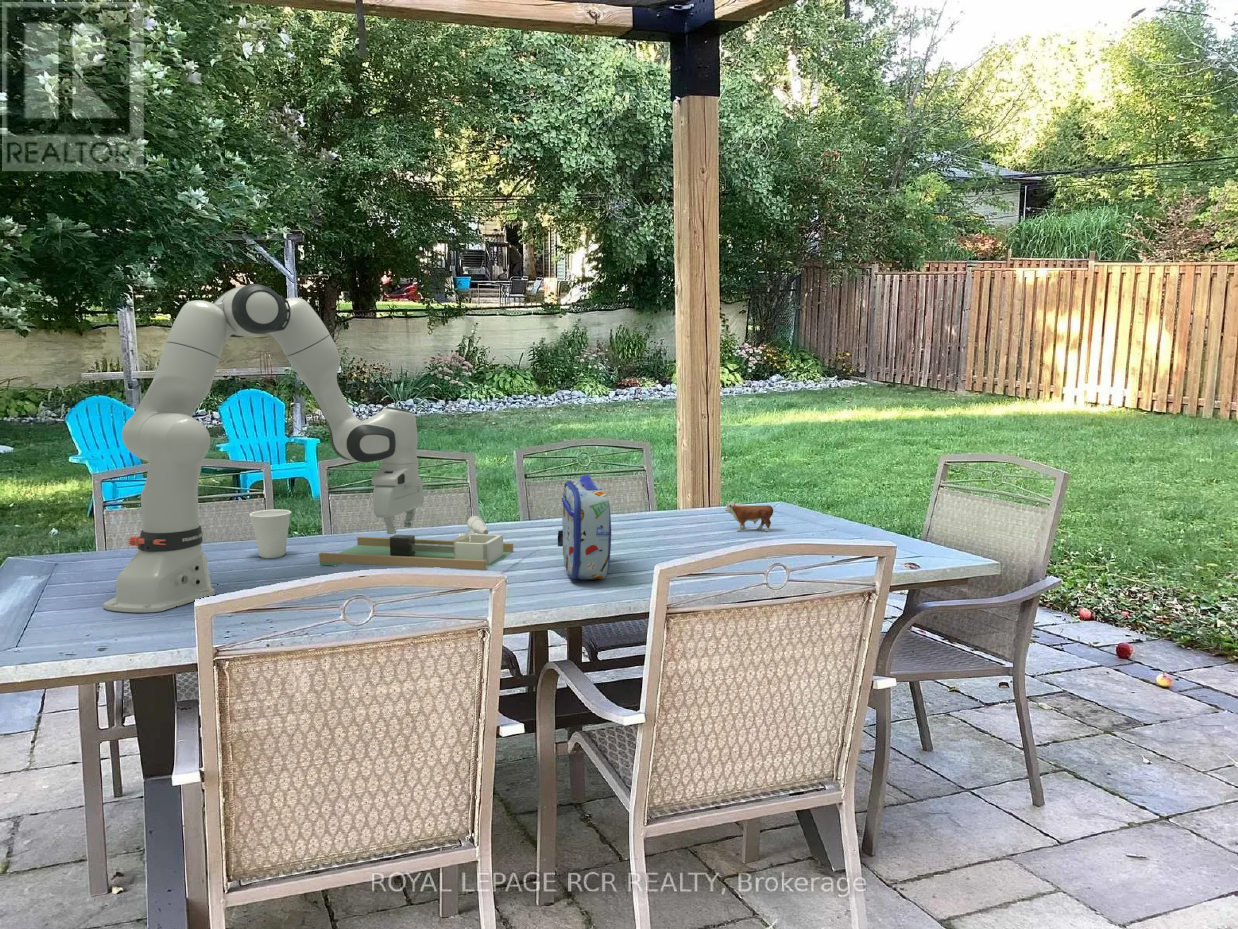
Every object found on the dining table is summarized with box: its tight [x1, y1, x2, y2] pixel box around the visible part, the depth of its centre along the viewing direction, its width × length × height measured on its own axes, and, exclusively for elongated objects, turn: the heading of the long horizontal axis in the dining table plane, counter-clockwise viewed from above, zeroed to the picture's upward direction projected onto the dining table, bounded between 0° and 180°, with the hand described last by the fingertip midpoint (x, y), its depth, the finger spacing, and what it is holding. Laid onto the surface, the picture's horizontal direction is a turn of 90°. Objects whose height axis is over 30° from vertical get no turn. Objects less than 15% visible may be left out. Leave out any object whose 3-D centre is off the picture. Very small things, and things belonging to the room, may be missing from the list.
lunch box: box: [557, 474, 612, 580], centre depth 231 cm, size 28×10×22 cm, turn 9°
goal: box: [455, 533, 504, 565], centre depth 242 cm, size 11×8×5 cm
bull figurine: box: [724, 501, 774, 533], centre depth 279 cm, size 4×13×8 cm, turn 82°
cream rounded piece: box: [457, 515, 490, 542], centre depth 264 cm, size 8×14×5 cm
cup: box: [248, 508, 292, 559], centre depth 251 cm, size 10×10×11 cm
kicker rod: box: [389, 534, 470, 559], centre depth 245 cm, size 5×19×5 cm, turn 77°
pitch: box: [318, 536, 514, 571], centre depth 245 cm, size 20×42×3 cm, turn 77°
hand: (400, 530), depth 245 cm, fingers open, 8 cm apart
